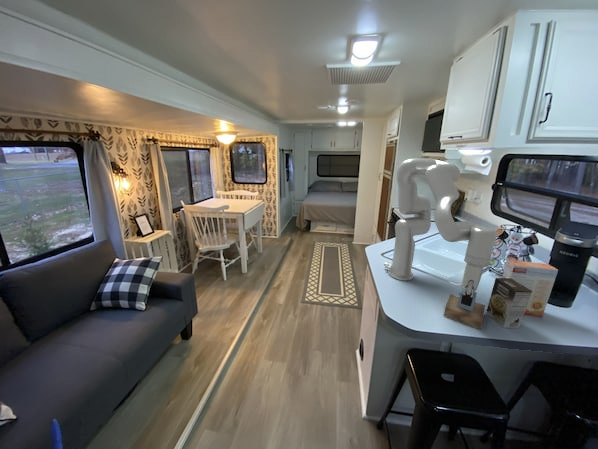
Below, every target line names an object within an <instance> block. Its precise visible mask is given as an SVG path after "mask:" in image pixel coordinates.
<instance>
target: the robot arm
mask: <svg viewBox="0 0 598 449" xmlns="http://www.w3.org/2000/svg"><path fill="white" fill-rule="evenodd" d="M460 177H461V170H460V168H459V167H458V166H457V164H454V163H451V162H446V161H442V160H440V159H435V158H420V157H418V158H409V159H406V160H403V161H402V162H401V163H400V164H399V165H398V167H397V171H396V181H397V185H398V186H397V187H398V189H397V191H398V192H397V193H398V194H397V196H398V198H397V200H398V201H397V206H398V211H399V213H400V214H401V215H405V216H408V217H402V218H400V219H398V220H397V221H396V223H395V225H394V230H395V231H394V232H395V239H394V240H395V241H394V250H393V257H392V262H391V263H388V262H384V268H385V269H388V271H387V273H388V275H389V277H391V278H393V279H395V280H398V281H406V282H407V281H411V280H413V279H414V276H415V275H414V273H413V271H412V267H413V261H414V254H415V249H416V242H415V240H414V237H415V236H420V235H421V236H422V235H426V234H427V233H429V231H430V229H431V224H432V205H431V204H432V203H431V201H430V198H429V197H427V196H426V195H424V194H418V185H417V182H416V180H415V179H414V178H426V181H427V183H428V186H429V188H430V191H431V193H432V195H433V197H434V200H435V202H436V204H435V207H434V214H433V216H434V217H433V219H434V224H435V226H436V228H437V231H438V233H439V234H440V236H441V237H442V239H443V240H445V241H446V242H449V243H457V242H462V241H465V242H466V241H468V242H467V247H466V251H465V256H464V259H463V260H464V262H465V263H466V265H465V268H464V270H463V271H464V272H463V275H462V281H461V284H460V287H461V289H462V288H463V289H465V290H464V294H463V295H462V299H461V304H464V305H467V306H471V304H472V300H473V297H472V296H473V292H477V290H478V287H479V284H480V282H481V279H482V276H483V272H484V269H485V268H488V267H490V262H491V258H492V254H493V251H494V247H495V244H496V239H497V235H498V232H497V230H496V229H495V228H492V227H489V226H483V225H480V224H478V223H475V222H474V221H469V220H463V221H455V220H454V218H453V215H452V212H451V209H452V205H453V203H454V202H455V201H456V200H458V199H459V197H460V192H459V191H458V189H457V187H456V184H455V182H457V181H458V180H459V179H460ZM410 215H413V216H411V217H410ZM466 290H467V291H466ZM471 291H472V292H471Z"/></svg>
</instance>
